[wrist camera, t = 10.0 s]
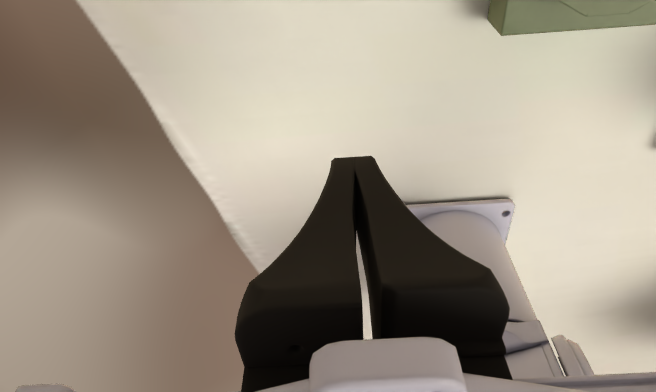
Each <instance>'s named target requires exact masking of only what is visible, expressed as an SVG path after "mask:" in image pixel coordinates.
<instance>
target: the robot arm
mask: <svg viewBox="0 0 656 392" xmlns="http://www.w3.org/2000/svg"><path fill="white" fill-rule="evenodd" d="M514 209H515V204H514V202H513V201H512V200H511V199H495V200H479V201H462V202H446V203H430V204H414V205H405V204H404V203H403V202H402V200H401V199H400V198H399V197H398V195H397V194H396V193H395V191H394V190H393V189H392V187H391V186H390V185H389V183H388V182H387V180H386V179H385V177H384V175H383V174H382V172H381V170H380V169H379V167H378V165H377V163H376V161H375V159H374V158H373V157H372V156H363V157H346V158H334V159H333V160H332V161H331V168H330V172H329V176H328V178H327V181H326V184H325V186H324V189H323V191H322V193H321V196H320V198H319V200H318V202H317V204H316V206H315V207H314V209H313V211H312V213H311V215H310V216H309V218H308V220H307V221H306V223H305V224H304V226H303V227H302V229H301V230H300V232H299V233H298V234H297V236H296V237H295V238H294V240H293V241H292V242H291V243H290V245H289V246H288V247H287V248H286V249H285V250H284V251H283V252H282V253H281V254H280V256H279V257H278V258H277V259H276V260H275V261H274V262H273V263H272V264H271V265H270V266H269V267H268V268H266V269H265V270H264V271H263V272H262V273H261V274H259V275H258V276H257V277H256V278H255V279H253V280H252V281H251V282H250V283H249V285H248V287H247V290H246V292H245V294H244V297H243V299H242V302H241V306H240V309H239V312H238V317H237V323H236V329H235V340H236V344H237V346H238V349H239V352H240V355H241V358H242V361H243V364H244V367H245V368H244V374H243V383H242V390H241V392H656V372H650V373H628V374H606V375H594V373H593V371H592V369H591V367H590V365H589V363H588V361H587V359H586V357H585V355H584V353H583V352H582V350H581V348H580V347H579V345H578V344H577V343H575V342H573V341H571V340H566V338H565V337H564V336H563V335H558V336H555V337H553V338H551V339H552V341H553V344H554V346H555V348H556V351H557V353H558V355H559V357H558V359H559V361H560V363H561V366H562V368H563V370H564V373H565V375H566V376H564V375H563V373H562V370H561V368H560V366H559V364H558V361H557V359H556V357H555V355H554V352H553V350H552V348H551V346H550V343H549V341H548V339H547V336H546V334H545V332H544V330H543V327H542V325H541V323H540V321H539V320H537V318H536V315H535V313H534V311H533V308H532V306H531V304H530V302H529V299H528V297H527V295H526V292H525V290H524V288H523V286H522V283H521V281H520V279H519V276H518V274H517V272H516V270H515V267H514V265H513V263H512V260H511V258H510V256H509V254H508V251H507V249H506V247H505V243H506V240H507V236H508V232H509V228H510V224H511V220H512V216H513V213H514ZM504 211H507V212H505V213H503V212H504ZM356 231H357V234H358V240H359V245H360V250H361V255H362V260H363V265H364V270H365V275H366V280H367V287H368V293H369V304H370V314H371V326H372V337H373V339H370V340H363V314H362V296H361V285H360V278H359V271H358V263H357V254H356ZM15 392H76V391H75V390H74V389H73V388H71V387H69V386H66V385H64V384H42V385H22V386H19V387H18V388H17V389H16V391H15ZM239 392H240V391H239Z"/></svg>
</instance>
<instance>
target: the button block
mask: <svg viewBox="0 0 656 392" xmlns="http://www.w3.org/2000/svg"><path fill="white" fill-rule="evenodd" d="M488 21H489V22H490V23H491V24H492V26H493V27H494V28H495V29H496V30H497V31H498V33H499V34H500V35H501V36H505V35H518V34H532V33H546V32H559V31H573V30H586V29H600V28H614V27H627V26H641V25H655V24H656V0H490V6H489V12H488Z"/></svg>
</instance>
